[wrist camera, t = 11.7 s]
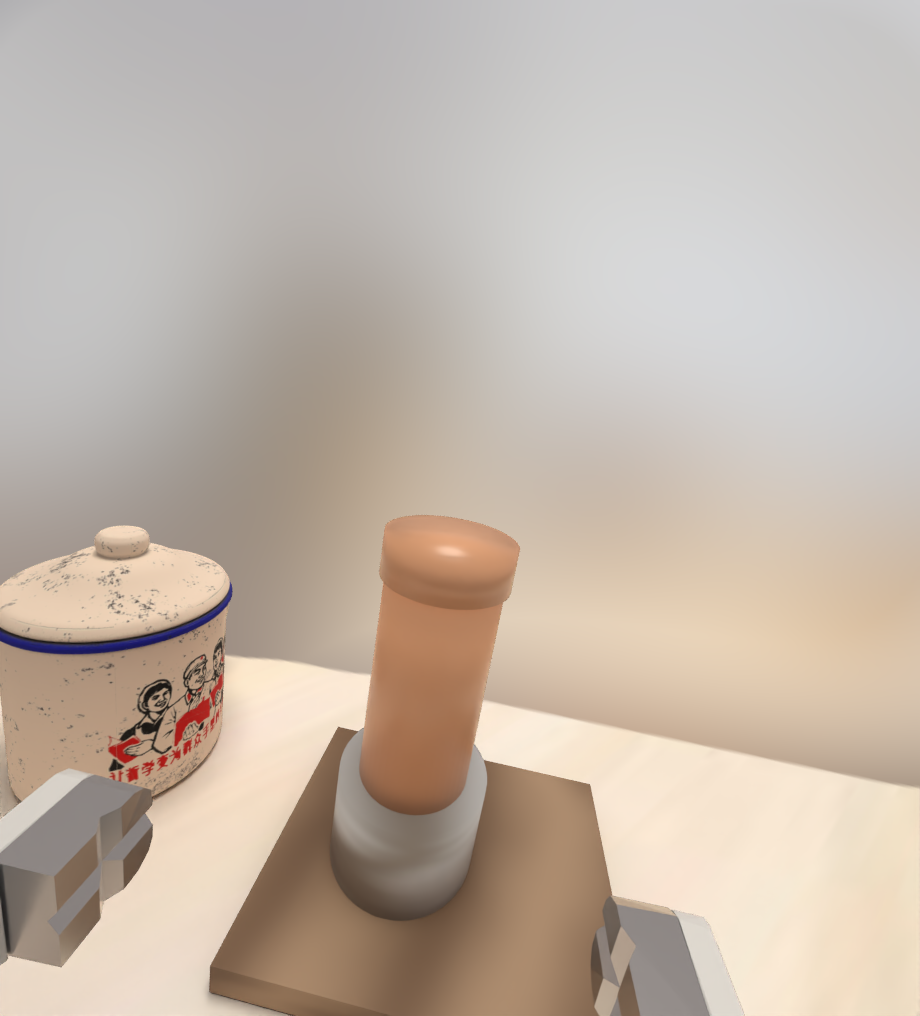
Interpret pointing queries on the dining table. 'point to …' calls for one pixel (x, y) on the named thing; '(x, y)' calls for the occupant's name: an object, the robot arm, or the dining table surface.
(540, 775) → the stud board
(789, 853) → the dining table surface
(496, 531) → the peach lidded canister
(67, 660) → the teacup with lid
